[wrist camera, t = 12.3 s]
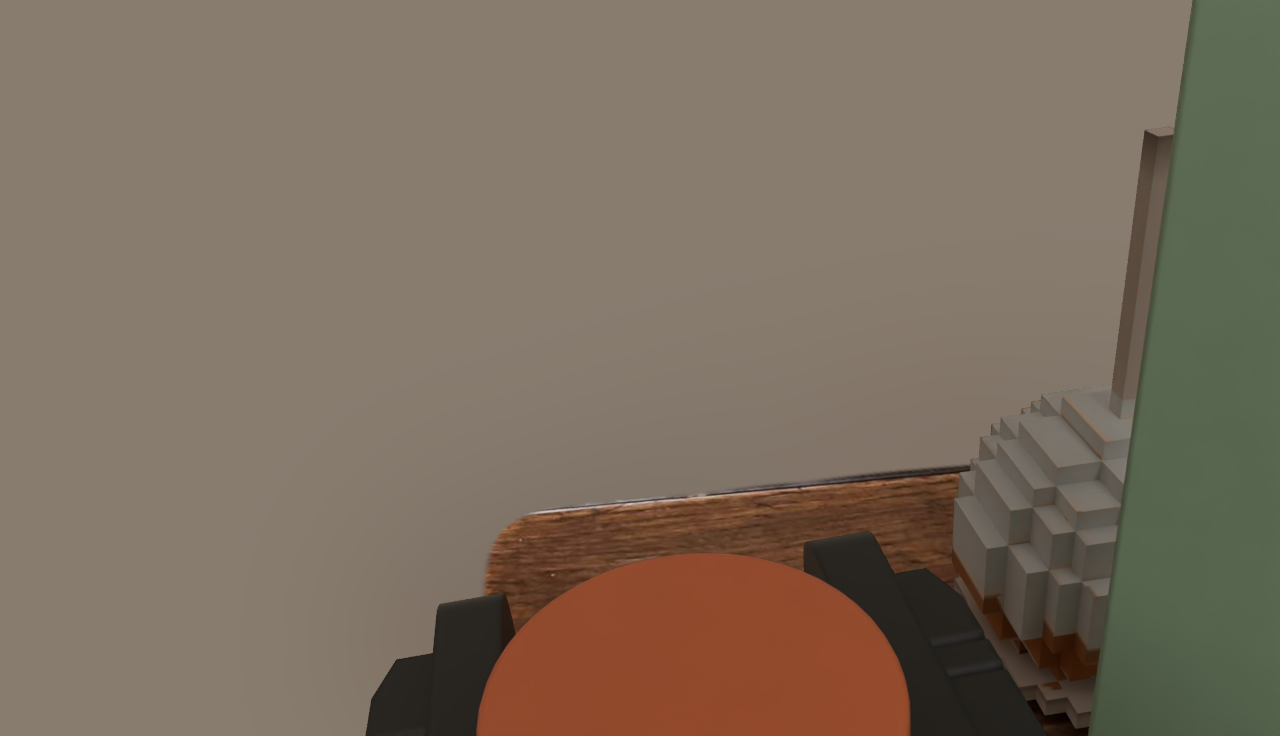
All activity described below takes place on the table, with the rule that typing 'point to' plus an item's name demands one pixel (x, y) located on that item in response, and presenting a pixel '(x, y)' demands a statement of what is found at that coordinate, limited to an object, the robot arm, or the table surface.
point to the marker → (698, 657)
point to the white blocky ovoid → (1059, 499)
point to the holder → (1206, 413)
